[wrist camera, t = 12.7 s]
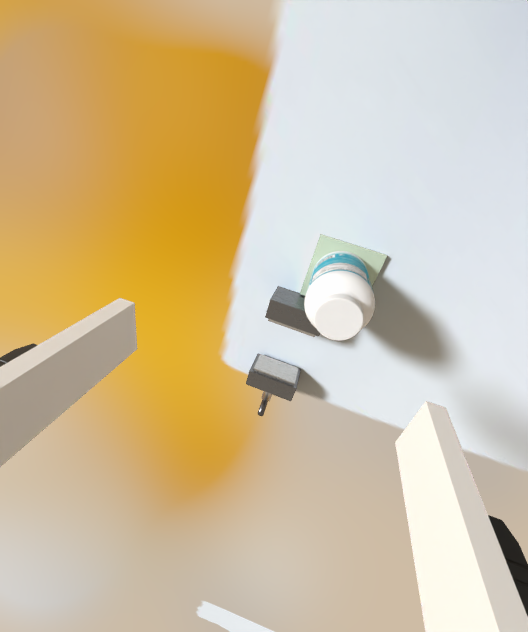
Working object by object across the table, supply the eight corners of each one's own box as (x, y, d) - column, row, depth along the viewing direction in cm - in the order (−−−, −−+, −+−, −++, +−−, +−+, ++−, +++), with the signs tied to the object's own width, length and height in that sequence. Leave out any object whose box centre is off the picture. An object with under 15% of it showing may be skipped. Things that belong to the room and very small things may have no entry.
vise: (279, 283, 43) (268, 302, 37) (328, 300, 42) (326, 322, 36) (250, 380, 54) (238, 407, 48) (288, 395, 53) (281, 424, 47)
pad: (320, 234, 37) (320, 234, 36) (386, 254, 36) (387, 256, 36) (300, 292, 42) (299, 293, 41) (358, 312, 41) (358, 313, 40)
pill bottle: (350, 308, 40) (353, 364, 29) (303, 287, 40) (288, 334, 29) (379, 262, 36) (395, 306, 25) (327, 239, 37) (319, 272, 25)
